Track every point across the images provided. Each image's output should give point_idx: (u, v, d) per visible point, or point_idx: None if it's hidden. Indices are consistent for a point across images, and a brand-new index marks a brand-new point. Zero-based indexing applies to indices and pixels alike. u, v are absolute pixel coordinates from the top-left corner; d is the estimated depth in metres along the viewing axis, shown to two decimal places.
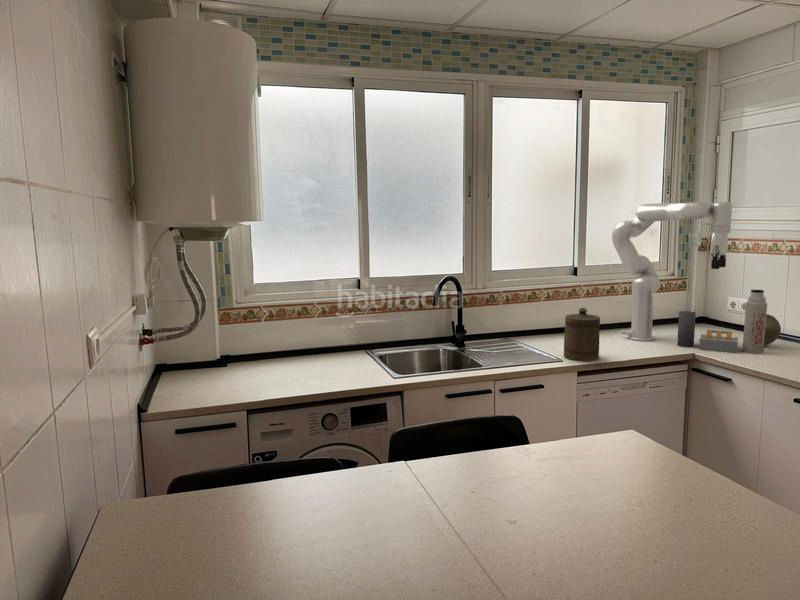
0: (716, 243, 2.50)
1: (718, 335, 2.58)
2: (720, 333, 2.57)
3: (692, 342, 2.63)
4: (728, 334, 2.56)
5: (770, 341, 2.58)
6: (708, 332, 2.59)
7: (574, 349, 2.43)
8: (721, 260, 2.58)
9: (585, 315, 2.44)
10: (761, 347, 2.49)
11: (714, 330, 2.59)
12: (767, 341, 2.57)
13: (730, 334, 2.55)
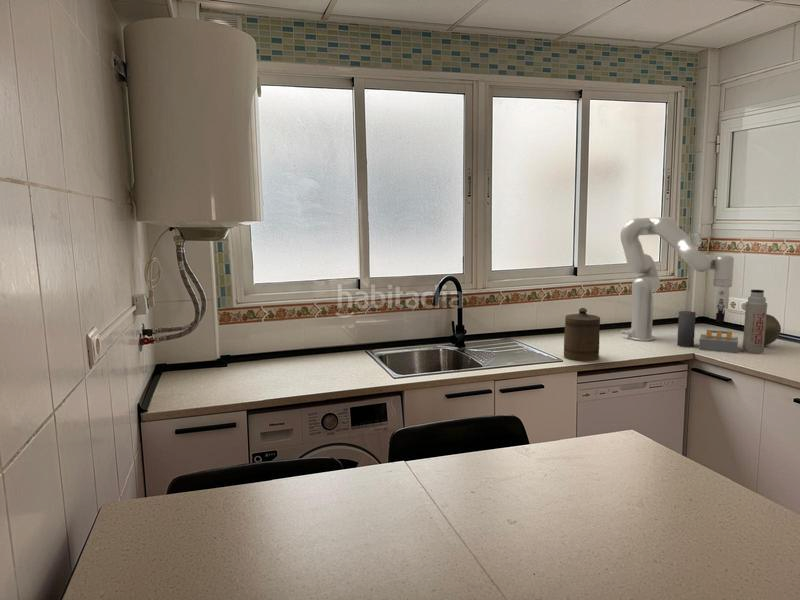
0: None
1: (718, 335, 2.58)
2: (720, 333, 2.57)
3: (692, 342, 2.63)
4: (728, 334, 2.56)
5: (770, 341, 2.58)
6: (708, 332, 2.59)
7: (574, 349, 2.43)
8: None
9: (585, 315, 2.44)
10: (761, 347, 2.49)
11: (714, 330, 2.59)
12: (767, 341, 2.57)
13: (730, 334, 2.55)
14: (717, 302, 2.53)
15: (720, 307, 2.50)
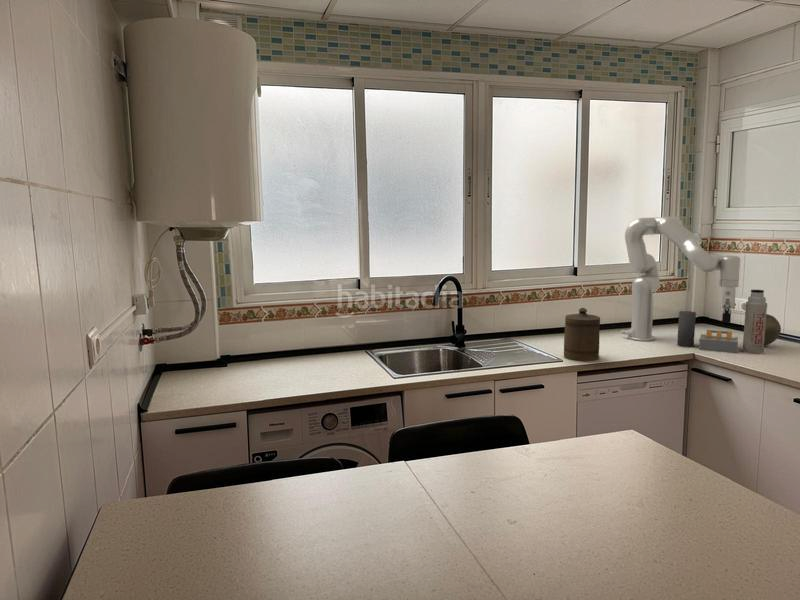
0: None
1: (718, 335, 2.58)
2: (720, 333, 2.57)
3: (692, 342, 2.63)
4: (728, 334, 2.56)
5: (770, 341, 2.58)
6: (708, 332, 2.59)
7: (574, 349, 2.43)
8: None
9: (585, 315, 2.44)
10: (761, 347, 2.49)
11: (714, 330, 2.59)
12: (767, 341, 2.57)
13: (730, 334, 2.55)
14: (723, 302, 2.52)
15: (726, 307, 2.48)
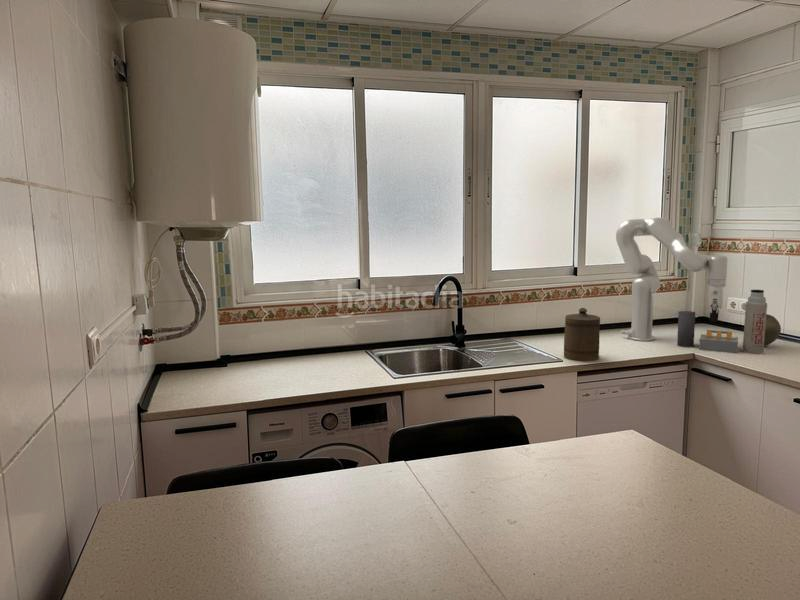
0: None
1: (718, 335, 2.58)
2: (720, 333, 2.57)
3: (692, 342, 2.63)
4: (728, 334, 2.56)
5: (770, 341, 2.58)
6: (708, 332, 2.59)
7: (574, 349, 2.43)
8: None
9: (585, 315, 2.44)
10: (761, 347, 2.49)
11: (714, 330, 2.59)
12: (767, 341, 2.57)
13: (730, 334, 2.55)
14: (711, 302, 2.54)
15: (714, 307, 2.51)
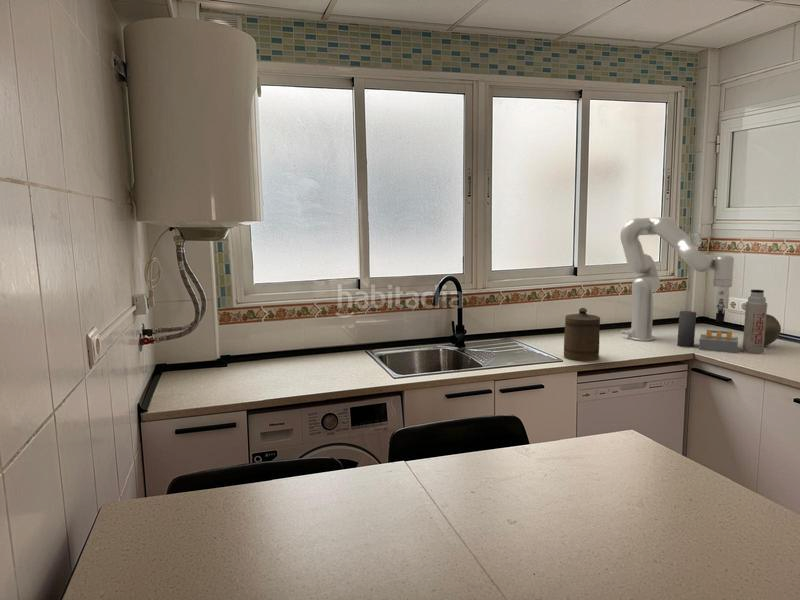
0: None
1: (718, 335, 2.58)
2: (720, 333, 2.57)
3: (692, 342, 2.63)
4: (728, 334, 2.56)
5: (770, 341, 2.58)
6: (708, 332, 2.59)
7: (574, 349, 2.43)
8: None
9: (585, 315, 2.44)
10: (761, 347, 2.49)
11: (714, 330, 2.59)
12: (767, 341, 2.57)
13: (730, 334, 2.55)
14: (717, 302, 2.53)
15: (720, 307, 2.50)
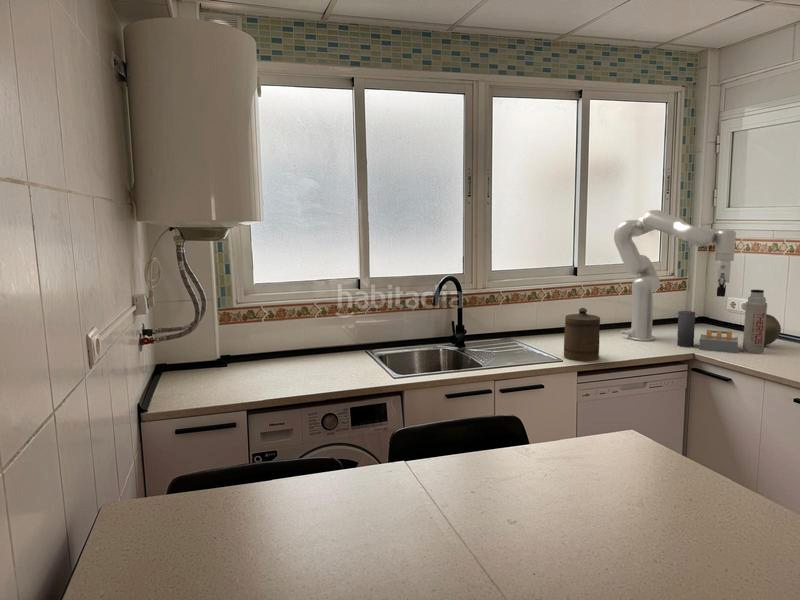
0: None
1: (718, 335, 2.58)
2: (720, 333, 2.57)
3: (692, 342, 2.63)
4: (728, 334, 2.56)
5: (770, 341, 2.58)
6: (708, 332, 2.59)
7: (574, 349, 2.43)
8: None
9: (585, 315, 2.44)
10: (761, 347, 2.49)
11: (714, 330, 2.59)
12: (767, 341, 2.57)
13: (730, 334, 2.55)
14: (718, 276, 2.51)
15: (721, 281, 2.48)
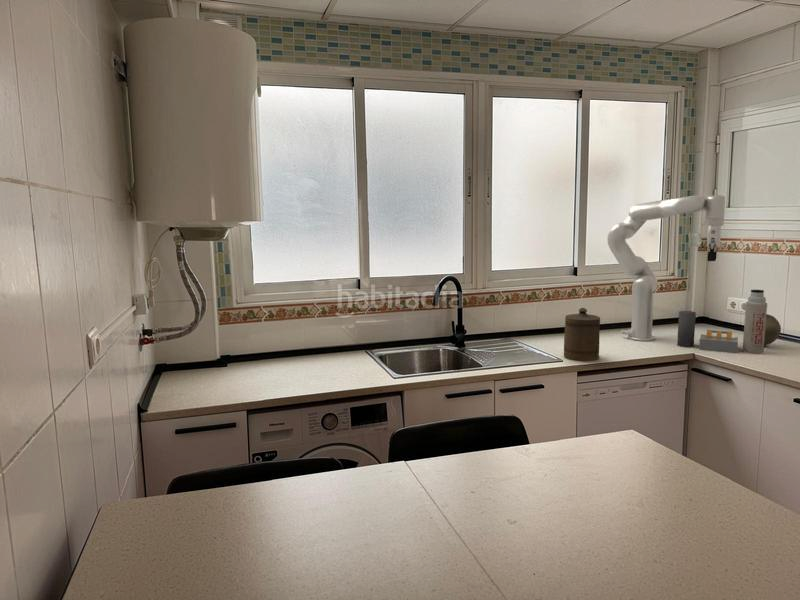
0: None
1: (718, 335, 2.58)
2: (720, 333, 2.57)
3: (692, 342, 2.63)
4: (728, 334, 2.56)
5: (770, 341, 2.58)
6: (708, 332, 2.59)
7: (574, 349, 2.43)
8: None
9: (585, 315, 2.44)
10: (761, 347, 2.49)
11: (714, 330, 2.59)
12: (767, 341, 2.57)
13: (730, 334, 2.55)
14: (709, 241, 2.55)
15: (711, 245, 2.52)
